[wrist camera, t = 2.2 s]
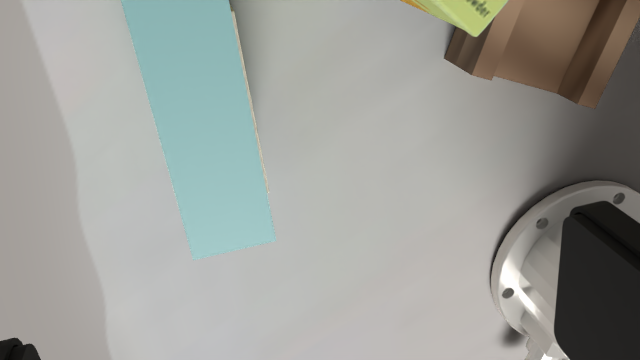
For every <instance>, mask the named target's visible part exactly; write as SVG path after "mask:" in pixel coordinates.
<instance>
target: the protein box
mask: <svg viewBox="0 0 640 360" xmlns="http://www.w3.org/2000/svg"><path fill="white" fill-rule="evenodd" d="M401 1H403V2H405V3H408V4H410V5H412V6H414V7H416V8H418V9H421V10H423V11H425V12H427V13H429V14H431V15H433V16H435V17H437V18H440V19H442V20H444V21H446V22H449V23H451V24H453V25H455V26H457V27H459V28H461V29H463V30H465V31H466V32H468V33H469V34H470V35H471V36H475V37H477V36H478V35H479V34H480V33H481V32H482V31H483V30H484V29H485V28H486V27H487V26H488V24H489V23H490V22H491V21H492V20H493V18H494V17H495V16H496V15H497V14H498V13H499V11H500V10H501V9H502V8H503V7H504V6H505V4H506V3H507V2H508V1H509V0H401Z"/></svg>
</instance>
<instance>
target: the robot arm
mask: <svg viewBox="0 0 640 360" xmlns="http://www.w3.org/2000/svg"><path fill="white" fill-rule="evenodd" d="M491 292H492V296H493V299H494V303H495V305H496V307H497V309H498V310H499V312H500V314H501V315H502V316H503V317H504V319H505V320H506V321H507V322H508V323H509V325H510V326H511V327H512V328H514V329H515V330H517V331H518V332H519V333H521V334H523V335H526V336H528V337H529V339H528V341H527V343H526V347H527V349H528V351H529V353H528V355H527V356H526V358H525V360H640V193H638V192H636V191H635V190H633V189H631V188H629V187H628V186H626V185H623V184H620V183H616V182H613V181H598V180H596V181H589V182H582V183H578V184H575V185H572V186H569V187H565V188H563V189H561V190H559V191H557V192H555V193H553V194H551V195H549V196H547V197H546V198H544V199H543V200H541V201H540V202H539V203H537V204H536V205H534V206H533V207H532V208H531V209H530V210H528V211H527V212H526V213H525V214H524V215H523V216H522V217H521V218H520V219H519V220H518V221H517V222H516V224H515V225H514V226H513V228H512V229H511V230H510V231H509V233H508V234H507V236H506V237H505V239H504V241H503V243H502V244H501V246H500V248H499V250H498V253H497V255H496V258H495V261H494V264H493V269H492V275H491ZM0 360H41V359H40V357H39V355H38V352H37V350H36V348H35V347H34V346H33V345H32V344H26V345H23V344H22V342H21V341H20V340H19V339H18V338H11V339H8V340H3V341H0Z"/></svg>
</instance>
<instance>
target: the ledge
mask: <svg viewBox="0 0 640 360" xmlns="http://www.w3.org/2000/svg"><path fill="white" fill-rule="evenodd" d="M639 17H640V0H509V1H508V2H507V3H506V4H505V6H504V7H503V8H502V9H501V10H500V11H499V13H498V14H497V15H496V16H495V17H494V18H493V20H492V21H491V22H490V23H489V24H488V26H487V27H486V28H485V29H484V30H483V31H482V32H481V33H480V34H479V35H478V36H477V37H475V36H471V35H470V34H469V33H468V32H466V31H465V30H463V29H461V28H459V27H457V26H456V29H455V31H454V34H453V37H452V39H451V42H450V45H449V47H448V50H447V53H446V55H445V58H444V59H446V60H448V61H449V62H451V63H453V64H454V65H456V66H458V67H459V68H461V69H463V70H464V71H466V72H468V73H469V74H471V75H473V76H477V77H481V78H484V79H488V80H492V78H493V76H496V77H500V78H503V79H507V80H511V81H514V82H518V83H521V84H525V85H529V86H532V87H536V88H539V89H543V90H547V91H550V92H554V93H557V94H559V95H561V96H563V97H565V98H567V99H569V100H571V101H573V102H575V103H577V104H579V105H583V106H586V107H590V108H594V109H595V108H596V106H597V104H598V102H599V99H600V97H601V95H602V93H603V91H604V89H605V87H606V85H607V83H608V81H609V79H610V77H611V75H612V73H613V71H614V69H615V67H616V65H617V62H618V60H619V58H620V56H621V54H622V52H623V50H624V48H625V46H626V44H627V42H628V40H629V38H630V36H631V34H632V32H633V30H634V28H635V26H636V23H637V21H638V19H639Z"/></svg>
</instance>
